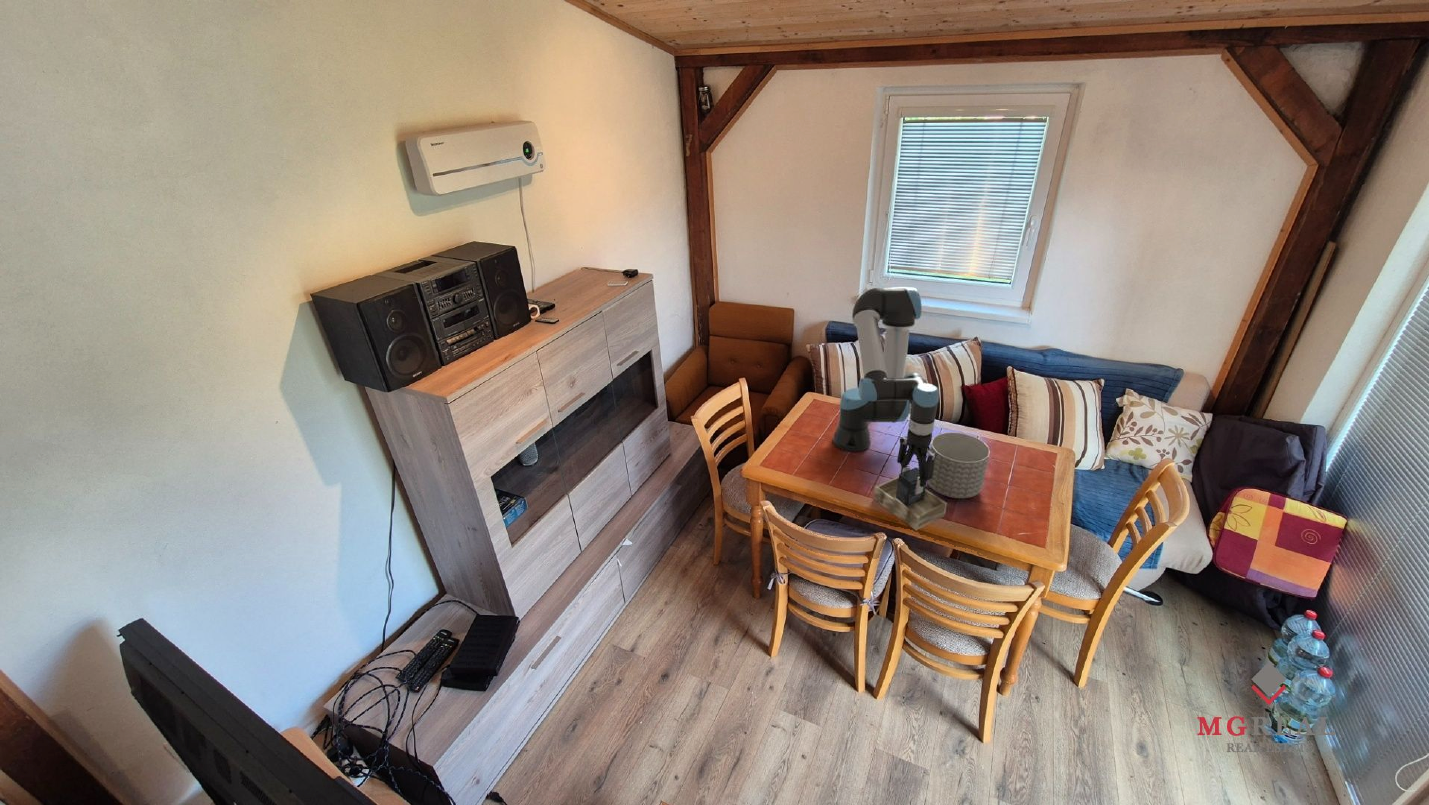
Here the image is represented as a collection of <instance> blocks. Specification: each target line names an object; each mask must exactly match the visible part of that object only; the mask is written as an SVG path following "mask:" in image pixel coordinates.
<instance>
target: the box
mask: <svg viewBox="0 0 1429 805" xmlns="http://www.w3.org/2000/svg"><path fill="white" fill-rule="evenodd" d="M898 476H899V479H898V486H897V493H896V498H897V499H898V500H899V501H900V502H902V503H903V504H904V505H905V506H909V505H911V504H914V503H916V502H919V501H921V500H924V495H925V489H926V490H927V481H926V485H925V486H923V492H921V493H919V494H915V491H916V485H917V479H918V477H920V474H919V467H914V468H910V470H908V471H906V472H903V473H901V472H900V473H899V474H898Z"/></svg>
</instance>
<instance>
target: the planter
mask: <svg viewBox="0 0 1429 805" xmlns="http://www.w3.org/2000/svg"><path fill="white" fill-rule="evenodd" d="M929 447H930V451H931V452H932V453H933V454H934V453H936V455H937V456H936V458H935V461H934V469H933V478H931V479H929V480H927V483H926V485H928V486H929V488H931V489H932V490H933V491H935V492H937V493H938V494H941V495H943V496H946V497H949V498H954V499H968V498H973V497H976V496H977V495H979V493H981V491H982V488H983V484H984V479H985V476H986V473H987V467H988V464H989V463H988V462H989V458H990V456H991V449H990V448H989V446H988V444H987V443H985V442H984V441H982V440H981V439H980V438H979V437H975V436H973V435H970V434H967V433H963V432H962V433H961V432H950V431H949V432H943V433H939V434H937V435H936V436H934V437H932V440H931V443H930V446H929Z"/></svg>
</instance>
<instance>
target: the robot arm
mask: <svg viewBox="0 0 1429 805" xmlns="http://www.w3.org/2000/svg"><path fill="white" fill-rule="evenodd" d="M921 299H922V298H921V296H920V292H919V290H918V289H917V288H915V287H909V286H908V287H907V286H899V287H898V286H895V287H892V286H891V287H873V288H870V289H868V290H866V291H865V292H863V293H862V294H861V295H860V296H859V297H858V299H857V300H856V301H855V303H854V306H853V309H852V313H851V314H852V316H851V318H852V322H853V326H855V327H856V332H857V339H858V346H859V352H860V353H859V354H860V360H861V365H862V366H861V367H862V373H863V378H861V379H859V383H858V387H853V388H850V389H847V390H846V391H844V392H843V393H842V395H841V396H840V402H839V418H838V419H839V420H838V425H837V427H836V430H835V432H834V434H833V444H834V445H835V447H837V448H839V449H840V448H841V449H840V450H842V451H845V452H849V453H859V452H860V453H861V452H864V451H866V450H868V449H869V448H870V446H871V444H872V437H871V434H870V433H871V432H870V430H869V423H893V424H894V423H901V422H904V421H906V420H907V419H908V417H909V421H908V422H909V423H908V429H907V434H906V436H903V437H901V438H899V450H898V455H897V459H896V462H897V464H899V465H900V466H901V467H900V468H901V470H900V473H903V472H906V471H908V470H911V466H910V463H911V461H912V458H913V457H914V455H915V457H916V460H917V462H918V469H919V474H920V477H918V479H917V485H916V491H915V494H919V493H921V492H923V486H925V485H926V486H927V483H926V481H927V480H929V479H931V478H933V469H934V461H935V458H936V456H937V455H936V453H934V454H933V453H932V452H931V451H930V447H931V442H932V439H933V432H934V427H935V420H936V415H937V410H938V404H939V400H940V397H939V396H940V390H939V388H938V387H937V386H935V385H934V384H932V383H928V382H927V380H926V379H925V377H923V375H921V374H920V373H918V372H911V373H908V374H906V367H907V366H906V364H907V357H908V347H909V337H910V329H911V328H912V327H914V326H915V322H916V320H920V319H921V316H922V309H923V308H922V300H921ZM880 320H881V324H882V325H883V326H884V327H885V334H884V346H883V343H882V338H881V333H880V332H881V331H880V327H879V322H880Z"/></svg>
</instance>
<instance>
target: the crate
mask: <svg viewBox="0 0 1429 805" xmlns="http://www.w3.org/2000/svg"><path fill="white" fill-rule="evenodd" d="M898 479H899V475H898V476H895V477H893V478H892V479H889V480H887V481H885V482H883V483H881V484H878V485H876V486H874V494H873V500H874V501H876V502H877V503H878V504H880V505H881V506H883V507H884V508H885V509H887V510H888V511H889V512H890V513H891V514H893V515H894V516H896V517H897V518H899V519H900V520H902V521H903V523H905V524H907V526H909V527H910V528H911V529H914V530H915V531H918V530H920V529H923V527H926V526H928V525H930V524H931V523H933V522H935V521H937V520H940V519H941V518H943V517H945V515H946V511H947V505H948V502H946V501H945V500H943V499H942V498H940V497H939V496H937V495H936V494H934V493H933V492H932V491H929V490H928V489H927V488H926V489H925V495H924V500H921V501H919V502H916V503H914V504H911V505H909V506H905V505H904V504H903V503H902V502H900V501H899V500H898V499H897V498H896V493H897V486H898Z"/></svg>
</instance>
